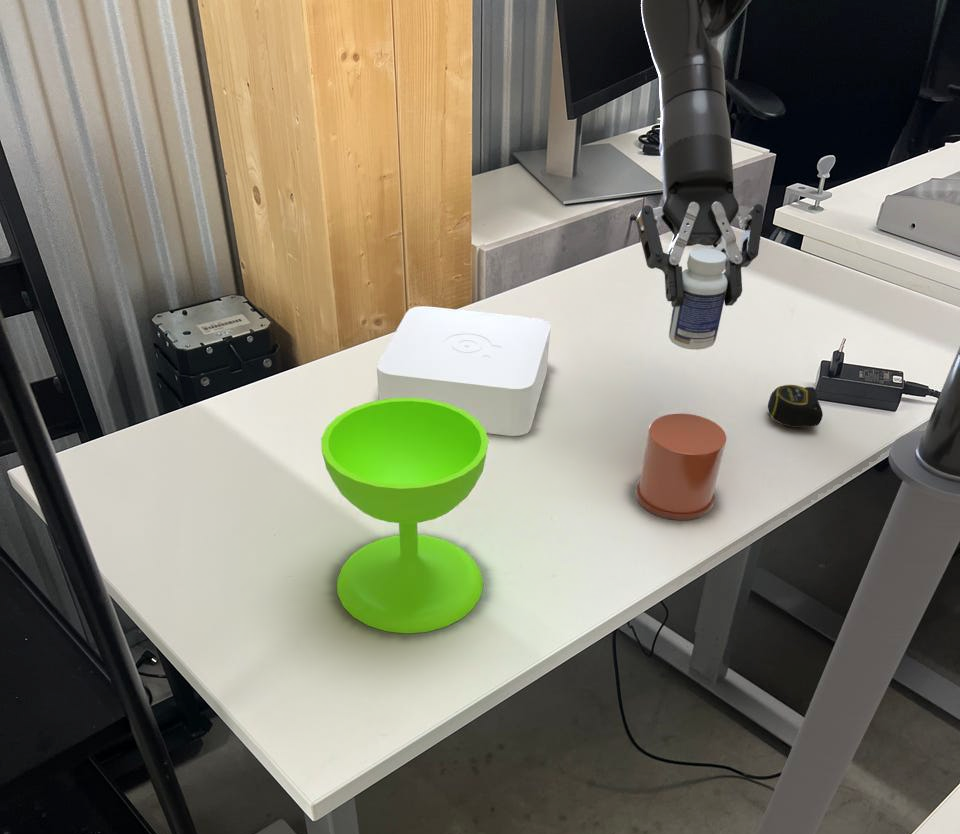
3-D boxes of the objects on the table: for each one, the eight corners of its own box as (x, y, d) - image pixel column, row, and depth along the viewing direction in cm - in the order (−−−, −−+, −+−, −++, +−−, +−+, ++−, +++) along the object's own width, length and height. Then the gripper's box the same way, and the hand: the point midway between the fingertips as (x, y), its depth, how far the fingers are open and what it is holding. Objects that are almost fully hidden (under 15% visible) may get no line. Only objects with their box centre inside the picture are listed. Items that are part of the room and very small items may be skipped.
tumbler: (729, 505, 113) (746, 441, 106) (669, 529, 109) (683, 464, 102) (678, 467, 118) (691, 404, 112) (619, 488, 114) (629, 424, 108)
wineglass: (413, 520, 109) (409, 381, 96) (513, 583, 101) (523, 441, 88) (306, 582, 100) (286, 438, 88) (406, 656, 92) (400, 510, 80)
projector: (550, 359, 138) (554, 315, 133) (528, 438, 122) (531, 391, 117) (414, 344, 140) (413, 300, 136) (375, 419, 125) (372, 372, 120)
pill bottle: (724, 347, 104) (743, 261, 98) (683, 354, 103) (699, 267, 96) (699, 326, 108) (716, 242, 101) (659, 333, 106) (673, 248, 100)
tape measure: (818, 434, 125) (826, 410, 122) (767, 429, 125) (774, 405, 123) (812, 408, 130) (819, 384, 127) (763, 404, 130) (769, 380, 128)
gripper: (640, 131, 96) (650, 292, 96) (773, 130, 98) (782, 289, 97) (623, 168, 104) (631, 317, 104) (746, 167, 105) (755, 314, 105)
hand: (704, 303), depth 101 cm, fingers closed on pill bottle, 5 cm apart
